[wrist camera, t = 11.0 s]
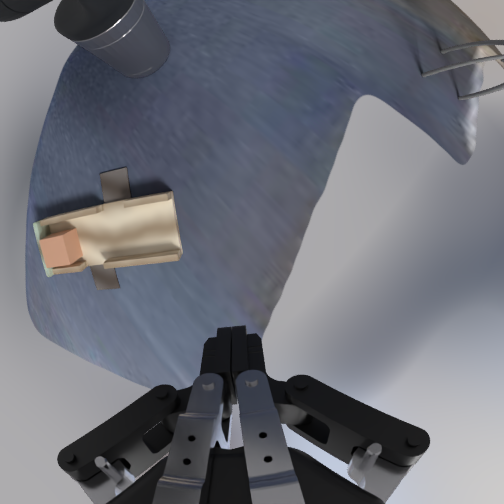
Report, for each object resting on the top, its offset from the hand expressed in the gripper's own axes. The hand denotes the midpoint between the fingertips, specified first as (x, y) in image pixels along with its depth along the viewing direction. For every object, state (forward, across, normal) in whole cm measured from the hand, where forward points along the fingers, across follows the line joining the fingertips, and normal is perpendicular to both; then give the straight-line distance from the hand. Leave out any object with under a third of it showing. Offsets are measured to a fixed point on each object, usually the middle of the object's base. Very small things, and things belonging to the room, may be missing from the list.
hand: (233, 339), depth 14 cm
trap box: (+29, +22, -1) cm, 36 cm away
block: (+28, +30, 0) cm, 41 cm away
